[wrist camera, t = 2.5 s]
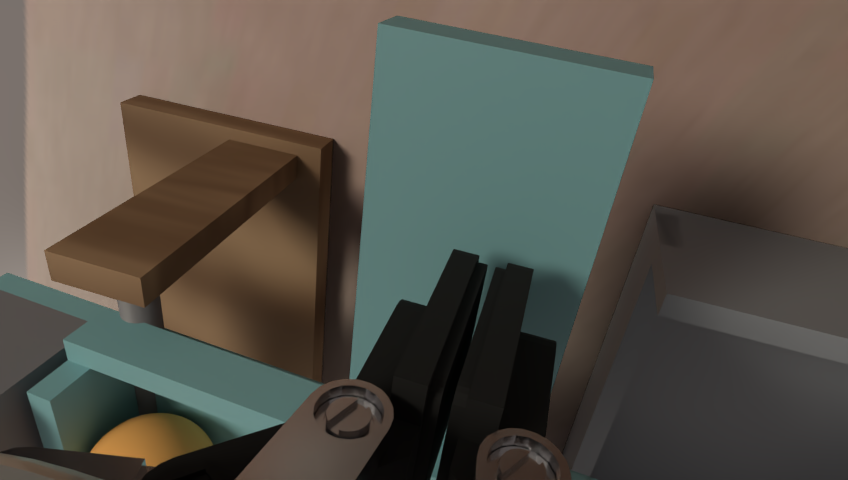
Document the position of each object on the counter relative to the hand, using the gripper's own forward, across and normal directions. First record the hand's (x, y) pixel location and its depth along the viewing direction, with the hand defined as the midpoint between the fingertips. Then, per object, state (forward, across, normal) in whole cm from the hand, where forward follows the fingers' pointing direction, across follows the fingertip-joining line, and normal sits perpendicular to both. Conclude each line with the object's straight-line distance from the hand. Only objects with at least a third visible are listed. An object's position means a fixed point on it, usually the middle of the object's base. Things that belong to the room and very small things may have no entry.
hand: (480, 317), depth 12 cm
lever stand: (+11, +13, +9) cm, 19 cm away
